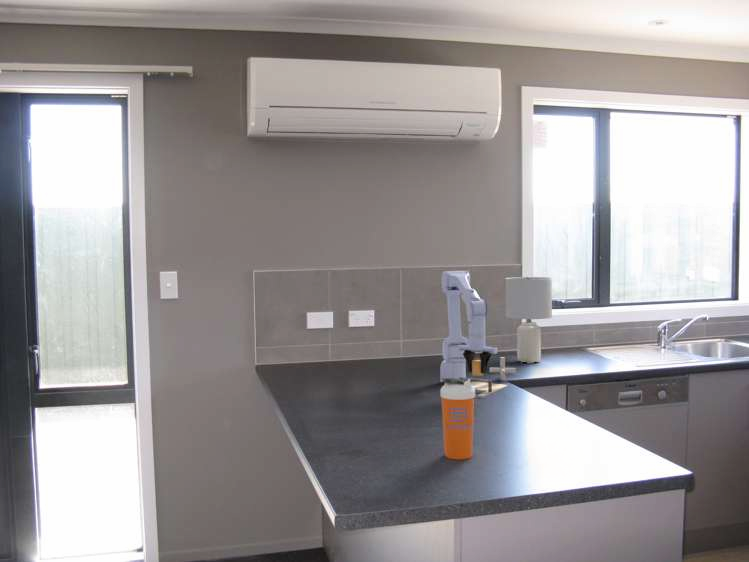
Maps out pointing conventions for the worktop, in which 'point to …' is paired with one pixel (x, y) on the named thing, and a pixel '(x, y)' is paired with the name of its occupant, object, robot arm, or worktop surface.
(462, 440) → the shaker bottle
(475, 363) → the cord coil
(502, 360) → the pipe connector
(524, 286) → the lamp
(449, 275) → the robot arm
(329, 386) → the worktop surface
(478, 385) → the shelf board
